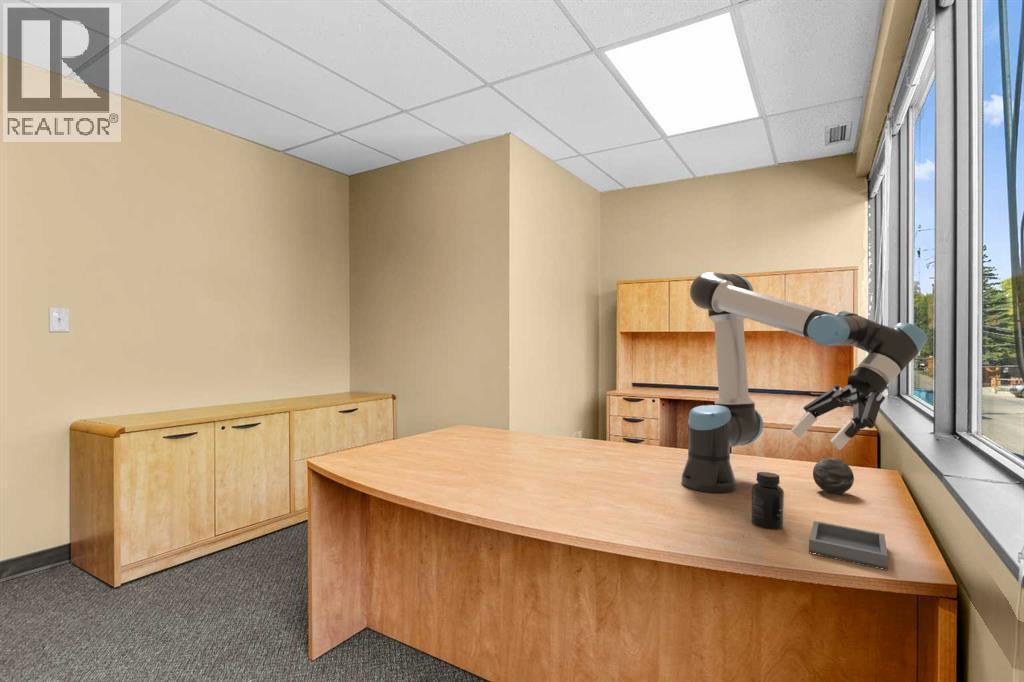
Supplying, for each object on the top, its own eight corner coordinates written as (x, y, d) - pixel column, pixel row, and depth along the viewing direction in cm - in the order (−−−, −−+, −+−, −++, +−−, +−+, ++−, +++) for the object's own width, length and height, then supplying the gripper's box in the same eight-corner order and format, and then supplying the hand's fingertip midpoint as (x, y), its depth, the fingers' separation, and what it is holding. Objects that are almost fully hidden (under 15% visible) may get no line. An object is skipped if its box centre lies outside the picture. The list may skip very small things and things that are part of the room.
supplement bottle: (787, 531, 116) (788, 479, 115) (755, 528, 117) (756, 477, 117) (777, 520, 122) (778, 471, 122) (747, 518, 124) (748, 469, 124)
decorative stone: (840, 488, 149) (841, 454, 149) (861, 499, 139) (862, 463, 139) (805, 487, 150) (806, 453, 149) (824, 498, 140) (824, 462, 139)
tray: (809, 553, 104) (809, 539, 104) (813, 532, 115) (813, 520, 115) (887, 570, 97) (887, 555, 97) (884, 547, 107) (884, 534, 107)
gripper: (930, 392, 109) (866, 463, 108) (843, 382, 134) (790, 440, 132) (907, 368, 109) (843, 438, 107) (825, 363, 133) (771, 420, 132)
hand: (814, 439), depth 120 cm, fingers open, 13 cm apart
